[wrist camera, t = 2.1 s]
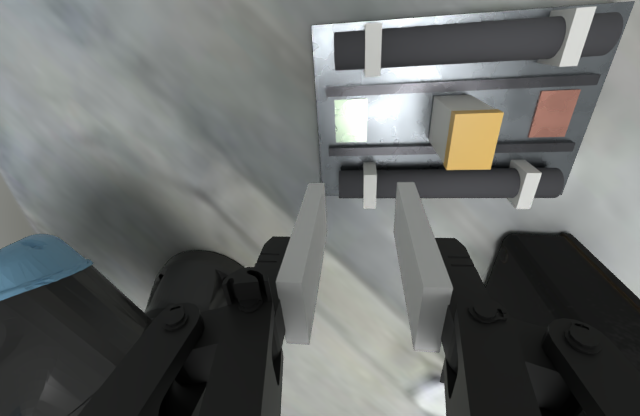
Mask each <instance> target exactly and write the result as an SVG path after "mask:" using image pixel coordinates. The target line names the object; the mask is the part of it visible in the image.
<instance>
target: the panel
mask: <svg viewBox="0 0 640 416" xmlns="http://www.w3.org/2000/svg"><path fill="white" fill-rule="evenodd" d="M634 2H635V1H631V2H618V3H604V4H591V5H578V6H565V7H551V8H538V9H525V10H512V11H498V12H485V13H472V14H459V15H445V16H432V17H419V18H406V19H392V20H379V21H366V22H353V23H339V24H326V25H313V26H312V42H313V57H314V72H315V88H316V103H317V118H318V134H319V149H320V164H321V180H322V183H324V185H325V196H337V195H339V171H346V170H363V162H375V163H376V170H419V169H445V167H444V165H443V162H442V160H441V159H440V157H439V156H438V154H437V153H436V151H435V149H434V148H433V146H432V145H431V143H430V142H429V134H430V126H431V118H432V109H433V101H434V96H448V95H472V96H473V97H475V98H477V99H479V100H481V101H482V102H484V103H486V104H488V105H489V106H491V107H493V108H495V109H499V110H500V111H502V112H504V115H503V119H502V123H501V127H500V132H499V136H498V140H497V144H496V149H495V153H494V157H493V161H492V166H491V168H509V166H510V162H511V160H526V161H527V162H528V163H530V164H531V165H532V166H534V167H535V168H558V169H560V170H561V171H562V173H563V176H564V187H565V185H566V182H567V179H568V177H569V174H570V171H571V169H572V166H573V163H574V161H575V158H576V156H577V153H578V150H579V148H580V145H581V142H582V140H583V137H584V134H585V132H586V129H587V127H588V124H589V121H590V119H591V116H592V113H593V111H594V108H595V105H596V103H597V100H598V97H599V95H600V92H601V90H602V87H603V84H604V82H605V79H606V76H607V74H608V71H609V68H610V66H611V63H612V60H613V58H614V55H615V53H616V50H617V47H618V45H619V42H620V39H621V37H622V34H623V31H624V29H625V26H626V23H627V21H628V18H629V16H630V13H631V10H632V8H633V5H634ZM594 6H597V7H596V10H595V13H609V12H618V13H620V14H621V15H622V17H623V30H622V33H621V36H620V38H619V40H618V42H617V44H616V45H615V47H614V48H613V49H612V50H611V51H610V52H609V53H607V54H605V55H603V56H591V57H580V59H579V62H578V65H577V66H566V67H557V66H552V65H546V64H540V63H537V61H538V59H537V60H519V61H501V62H483V63H465V64H447V65H429V66H411V67H393V68H381V73H380V76H375V77H365V74H364V69H358V70H340V71H335V63H334V32H345V31H359V30H365V24H367V23H380V22H382V29H386V28H400V27H414V26H428V25H442V24H456V23H470V22H484V21H498V20H511V19H525V18H539V17H549V16H550V12H551V11H552V10H561V9H571V8H581V7H594ZM595 13H594V14H595ZM564 187H563V190H564ZM563 190H562V192H561V194H560V195H562V193H563Z"/></svg>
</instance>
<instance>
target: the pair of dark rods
mask: <svg viewBox="0 0 640 416" xmlns="http://www.w3.org/2000/svg"><path fill="white" fill-rule="evenodd" d="M596 7H597V6H594V7H581V8H571V9H561V10H552V11H551V12H550V16H549V17H539V18H525V19H511V20H498V21H484V22H470V23H456V24H442V25H428V26H414V27H400V28H386V29H382V22H380V23H367V24H365V30H359V31H345V32H334V63H335V71H340V70H358V69H364V74H365V77H375V76H380V73H381V68H393V67H411V66H429V65H447V64H465V63H483V62H501V61H519V60H537V59H538V61H537V63H540V64H546V65H552V66H557V67H566V66H577V65H578V62H579V59H580V57H591V56H603V55H605V54H607V53H609V52H610V51H611V50H612V49H613V48H614V47H615V45H616V44H617V42H618V40H619V38H620V36H621V33H622V30H623V17H622V15H621V14H620V13H618V12H609V13H595V10H596ZM594 13H595V14H594ZM397 182H414V183H415V185H416V188H417V191H418V194H419V196H420V198H507V199H508V200H509V202H510V203H511V204H512V205H513V206H514V207H515V208H516V209H530V208H531V205H532V202H533V199H534V198H556V197H558V196H559V195H560V194H561V192H562V190H563V187H564V176H563V173H562V171H561V170H560V169H558V168H535V167H534V166H532V165H531V164H530V163H528V162H527V161H526V160H511V162H510V166H509V168H491V170H446V169H419V170H376V163H375V162H363V170H346V171H339V198H363V209H376V198H396V191H397Z"/></svg>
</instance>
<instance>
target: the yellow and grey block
mask: <svg viewBox="0 0 640 416" xmlns="http://www.w3.org/2000/svg"><path fill="white" fill-rule="evenodd" d="M503 115H504V112H502V111H500V110H499V109H495V108H493V107H491V106H489V105H488V104H486V103H484V102H482V101H481V100H479V99H477V98H475V97H473V96H472V95H448V96H434V101H433V109H432V118H431V126H430V134H429V142H430V143H431V145H432V146H433V148H434V149H435V151H436V153H437V154H438V156H439V157H440V159H441V160H442V162H443V165H444V167H445V169H446V170H491V166H492V161H493V157H494V153H495V149H496V144H497V140H498V136H499V132H500V127H501V123H502V119H503Z"/></svg>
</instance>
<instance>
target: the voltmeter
mask: <svg viewBox="0 0 640 416" xmlns="http://www.w3.org/2000/svg"><path fill="white" fill-rule="evenodd" d="M486 290H487V292H488V294H489V296H490V298H491V299H492V300H494V301H496V302H498V303H500V304H501V305H502V306H503V307H504V308H505V309H506V310H507V311H508V313H509V315H510V316H511V317H513V318H515V319H518V320H521V321H524V322H528V323H531V324H535V325H538V326H542V327H545V328H548V326H549V324H550V323H551V322H552V321H554V320H556V319H561V318H567V319H574V320H578V321H580V322H583V323H586V324H588V325H590V326H592V327H594V328H595V329H597V330H599V331H601V332H602V333H603V334H604V335H605V336H606V337H607V338H609V339H610V340H611V341H612V342H613V343H614V345H615V346H616V347H617V348H618V349H619V350H620V351H621V352H622V353H623V355H624V356H625V357H626V358H627V359H628V360H629V361H630V362H631V363H632V365H633V366H634V367H635V368H636V369H637V370H638V371H639V372H640V299H639V298H638V297H637V296H636V295H635V294H634V293H633V292H632V291H631V290H630V289H628V288H627V287H626V286H625V285H624V284H623V283H622V282H621V281H620V280H619V279H618V278H617V277H616V276H615V275H614V274H613V273H612V272H611V271H610V270H609V269H608V268H606V267H605V266H604V265H603V264H602V263H601V262H600V261H599V260H598V259H597V258H596V257H595V256H594V255H593V254H592V253H591V252H590V251H589V250H588V249H587V248H586V247H584V246H583V245H582V244H581V243H580V242H579V241H578V240H577V239H576V238H575V237H574V236H573V235H571V234H567V233H561V234H560V235H559V236H551V235H531V234H510V235H508V236H507V237H506V238H505V239H504V241H503V242H502V245H501V248H500V251H499V253H498V256H497V259H496V262H495V264H494V267H493V270H492V273H491V275H490V278H489V281H488V284H487V286H486Z"/></svg>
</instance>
